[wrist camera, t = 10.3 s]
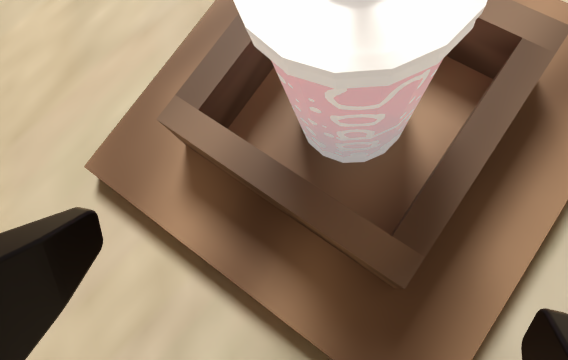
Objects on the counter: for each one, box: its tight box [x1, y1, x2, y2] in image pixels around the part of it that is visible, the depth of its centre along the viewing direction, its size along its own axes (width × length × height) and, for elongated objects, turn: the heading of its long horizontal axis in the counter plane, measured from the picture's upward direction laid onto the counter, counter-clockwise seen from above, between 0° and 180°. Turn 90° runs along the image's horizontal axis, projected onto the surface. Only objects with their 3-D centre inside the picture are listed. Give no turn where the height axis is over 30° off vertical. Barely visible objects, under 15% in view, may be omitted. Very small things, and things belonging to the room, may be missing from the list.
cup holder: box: [84, 0, 568, 360], centre depth 17 cm, size 18×18×4 cm
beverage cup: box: [233, 0, 487, 163], centre depth 11 cm, size 6×6×14 cm
